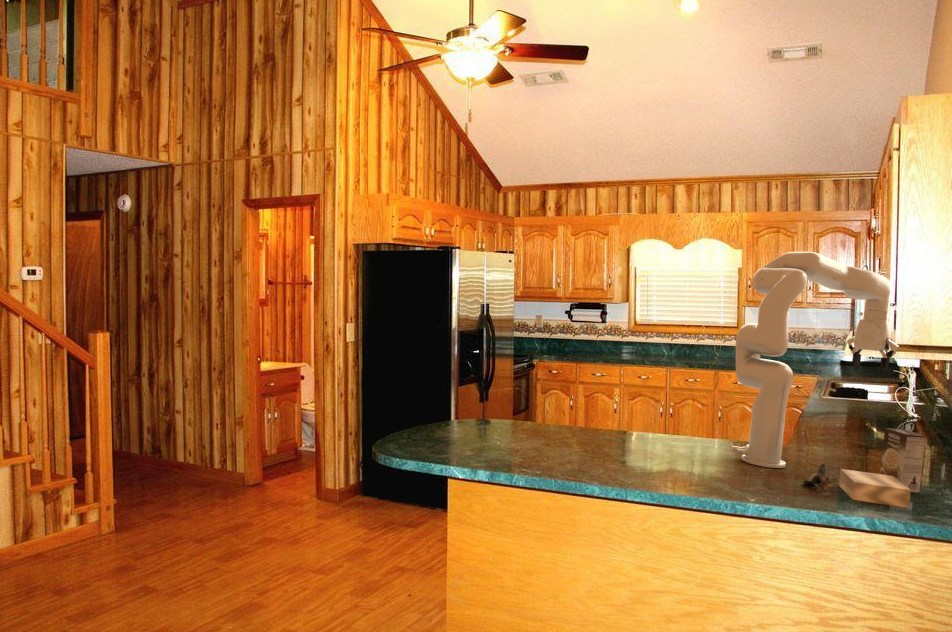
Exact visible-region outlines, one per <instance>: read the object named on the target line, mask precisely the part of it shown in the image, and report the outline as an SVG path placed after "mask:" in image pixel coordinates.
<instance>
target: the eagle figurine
mask: <svg viewBox="0 0 952 632" xmlns="http://www.w3.org/2000/svg"><path fill="white" fill-rule="evenodd" d="M825 475H826V466H825V463H822V464H820V466H819V467H818V469H817V472H815V473H812V474H811V475H810V476H809V478H807V479H805V480H804V481H802V484H807V485H813V486H814V485H816V486H818V487H819V488H820V489H819V493H821V494H822V492H823V491H824V490H826V491H827V486H828V485H830V484H831V483H834V482H836V481H837V480H838V477H835V478H834V479H831V480H830V478H829V475H826V478H825V480H824V479H823V478H824V476H825Z"/></svg>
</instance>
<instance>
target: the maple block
mask: <svg viewBox="0 0 952 632" xmlns="http://www.w3.org/2000/svg"><path fill="white" fill-rule="evenodd" d="M838 486H839V487H840V488H841V489H842V490H843V491H844V492H845V493H846V495H848V496H849V498H850V499H852V500H853V501H858V502H865V503H873V504H879V505H886V506H894V507H901V508H908V509H909V508H910V501H911V493H912V492H911V490H910V489H909V488H908V487H906V486H905V485H904V484H902V483H901V482H900V481H899V480H897V479H896V478H895V477H893V476H890V475H882V474H880V473H874V472H865V471H858V470H852V469H844V468H840V472H839V479H838Z"/></svg>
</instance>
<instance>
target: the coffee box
mask: <svg viewBox="0 0 952 632" xmlns="http://www.w3.org/2000/svg"><path fill="white" fill-rule="evenodd" d="M926 438H927V436H926V435H923V434H919V433H917V432H914V431H911V430H908V429H905V428H903V429H902V428H891V427H889V428H887V427H886V428H884V435H883V444H882V451H881V452H882V453H881V461H880V467H879V474H882V475H890V476H893V477H895V478H896V479H897V480H899V481H900V482H901V483H902V484H904V485H905V486H906V487H908V488H909V489H910V490H911V493H920V486H921V478H922V470H923V462H924V455H925V448H926V447H925V445H926Z"/></svg>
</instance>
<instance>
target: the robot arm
mask: <svg viewBox="0 0 952 632" xmlns="http://www.w3.org/2000/svg"><path fill="white" fill-rule="evenodd" d="M808 281H810V282H812V283H815V284H818V285H819V286H822V287H825V288H827V289H830V290H835V291H842V292H843V294H844V295H845V296H846V297H848V298H849V299H851V300H852V299H853V300H857V301H858V300H862V301H863V309H862V311H860V312H859V316H860V317H861V319H859V321H858V323H857V326H856V328H855V334H854V337H851V338H849V339H847V340H846V342H847V345H848V348H849V350H850V352H851V354H852V358H851V359H852V360H851V361H852V363H851V365H852V366H854V367H860V366H861V359H862V354H861V352H863V351H872V352H879V353H880V355H881V356H882V357H881V358H880V363H879V369H880V371H888V369H889V366H890V359H891V358H892V357H893V356H895V354H896V353H897V351H898V350H899V348H900V345H898V344H897V343H895V342H894V341H893V340H891V333H892V332H891V331H892V330H891V323H890V321H889V318H890V317H889V315H890V309H891V307H890V306H891V300H892V299H891V297H892V291H893V283H892V281H890V280H889V279H888V278H887V277H885V276H884V275H882V274H879V273H877V272H876V271H875V272H874V271H871V270H868V269H863V268H861V267H860V268H858V267H856V266H853V265H848V264H844V263H841V262H838V261H837V260H834V259H831V258H829V257H828V256H827V257H826V256H825V255H823V254H820V253H818V252H814V251H789V252H786V253H784V254H781V255H780V256H778V257H776V258H775V259H772V261H769V262H767V264H765V265H764V266H762V267H760V268H759V269H758V270H757V271H756V272H755V273H754V275H753V278H752V287H753V288H754V290H755V291H756V292H757V293H758V294H760V295H763V296H764V297H763V298H762V299H761V302H760V304H759V307H758V310H757V311H758V313H757V315H758V316H757V323H756V322H750V323H745V324H744V325H743V326H741V327H740V328H739V329H738V332H737V334H736V338H735V374H736V375H735V376H736V379H737V382H739V384H741V385H742V386H745V387H747V388H752V389H756V390H759V392H758V393H757V395H756V396H755V398H754V400H753V402H752V407H751V409H752V410H751V419H750V428H749V437H748V444H746V445H745V446H744V445H743V446H737V445H732V446H731V452H732V453H736V454H742V455H741V460H742V461H743V462H744V463H747V464H751V465H754V466H758V467H759V466H760V467H762V468H763V467H764V468H772V469H783V468H786V467H787V465H786V464H787V463H786V461H784V460H782V453H783V452H782V451H783V442H784V434H785V433H784V431H785V422H786V413H787V404H788V400H789V395H790V392H791V388H792V385H793V383H794V382H793V381H794V374H793V373H794V372H793V370H792V368H791V367H790V366H789V365H788V364H786V363H784V362H781V361H779V360H772V359H766V358H761V356H766V357H781V356H783V355H784V354H786V352H787V350H788V346H789V314H790V313H789V312H790V309H791V306H792V304H793V303H794V302H795V300H796V299H797V298H798V297H799V296H800V295H801V294H802V293H803V291H805V289H806V287H807V286H808V285H807V284H808ZM890 347H891V349H890Z"/></svg>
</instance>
